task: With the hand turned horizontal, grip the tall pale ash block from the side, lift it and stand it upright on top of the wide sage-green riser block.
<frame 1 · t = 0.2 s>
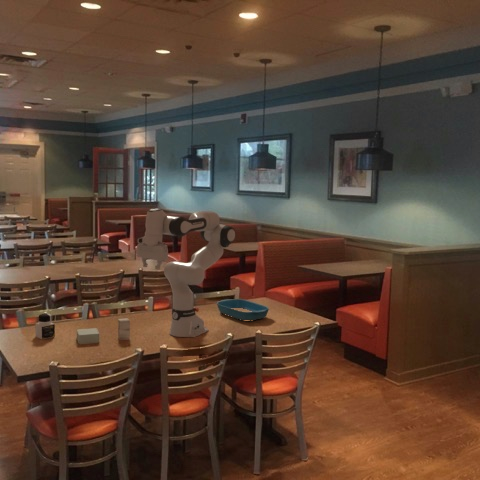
hand: (151, 268, 269), 39 cm above the table, tool pointing down, fingers open, 8 cm apart
casserole dish: (242, 316, 333), on the table
ash block: (123, 338, 279), on the table
riser block: (87, 341, 274), on the table
medicine bottle: (45, 337, 277), on the table
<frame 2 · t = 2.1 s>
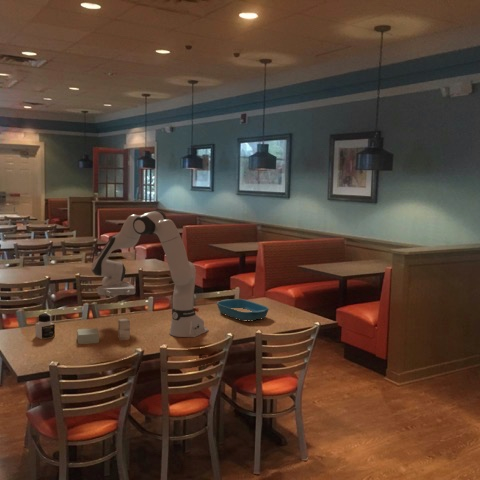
hand: (119, 293, 287), 21 cm above the table, tool horizontal, fingers open, 8 cm apart
nothing on the table moved.
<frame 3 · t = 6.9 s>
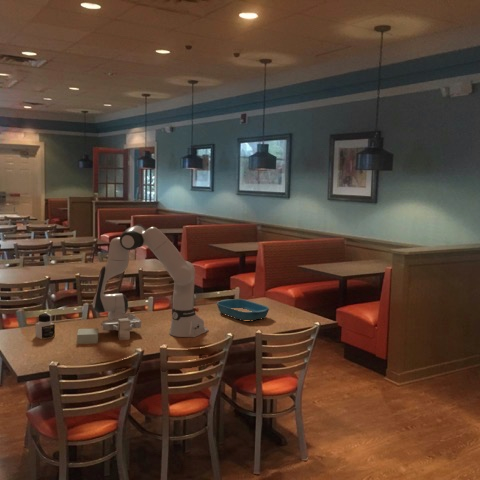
hand: (124, 328, 278), 6 cm above the table, tool horizontal, fingers closed on ash block, 5 cm apart
ash block: (123, 338, 279), on the table, touching gripper
everything else where it was.
when the fingers open (12 cm above the table, at t = 11.8 s): ash block drops 2 cm, resting on riser block.
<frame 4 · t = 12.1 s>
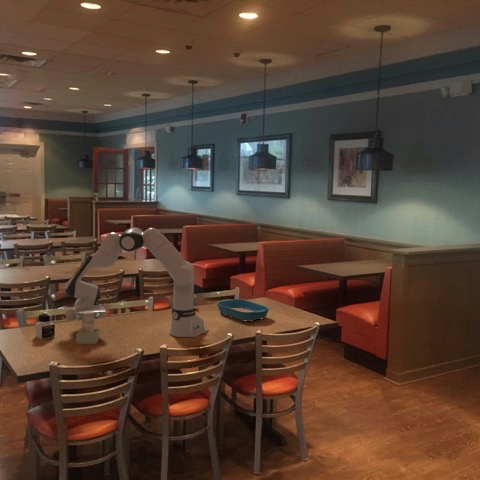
hand: (88, 318, 272), 12 cm above the table, tool horizontal, fingers open, 7 cm apart
ash block: (87, 331, 273), point 5 cm above the table, touching riser block
riser block: (87, 341, 274), on the table, touching ash block
everything else where it was.
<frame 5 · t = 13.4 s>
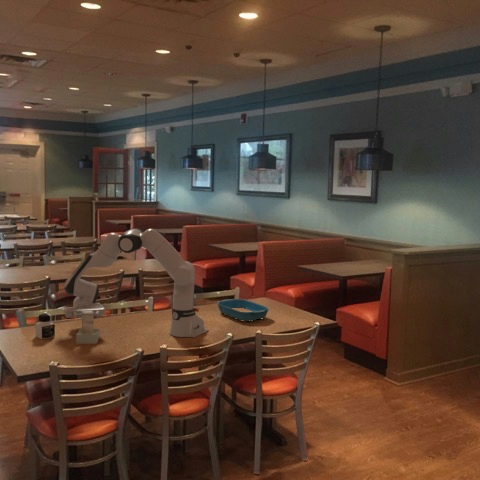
hand: (87, 315, 275), 12 cm above the table, tool horizontal, fingers open, 8 cm apart
nothing on the table moved.
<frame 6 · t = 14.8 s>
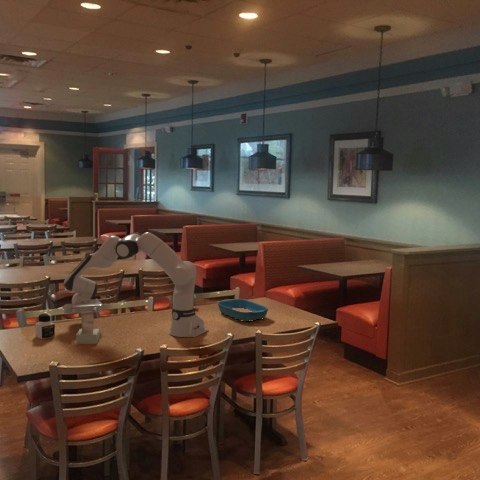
hand: (85, 311, 284), 12 cm above the table, tool horizontal, fingers open, 8 cm apart
nothing on the table moved.
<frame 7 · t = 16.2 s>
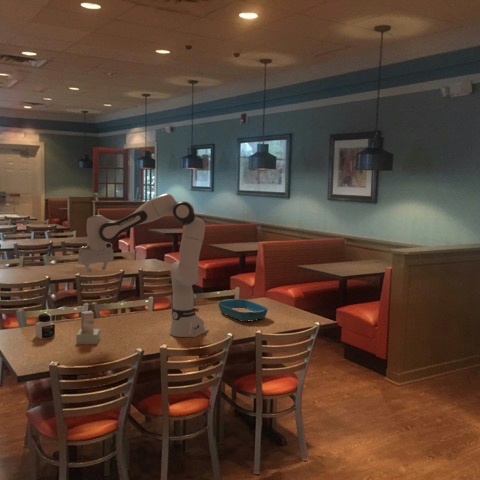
hand: (96, 270, 287), 33 cm above the table, tool pointing down, fingers open, 8 cm apart
nothing on the table moved.
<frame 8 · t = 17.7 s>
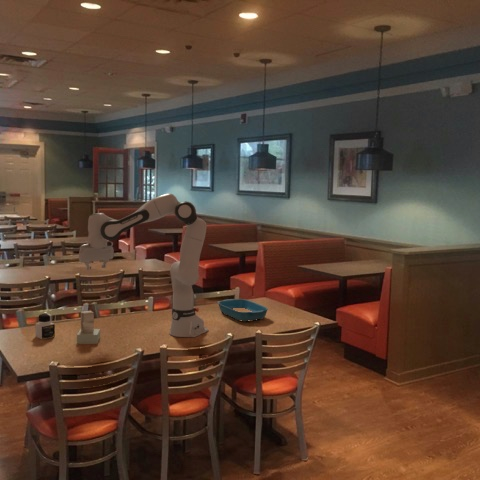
hand: (96, 268, 287), 34 cm above the table, tool pointing down, fingers open, 8 cm apart
ash block: (87, 331, 273), point 5 cm above the table
riser block: (88, 341, 274), on the table
at the end: ash block inside the target area on the riser block (0.7 cm from its centre), point 5.1 cm above the riser block's base; ash block tilted 2°; the gripper is holding nothing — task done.
